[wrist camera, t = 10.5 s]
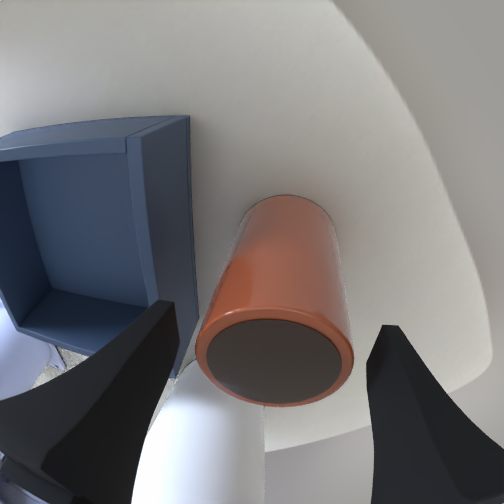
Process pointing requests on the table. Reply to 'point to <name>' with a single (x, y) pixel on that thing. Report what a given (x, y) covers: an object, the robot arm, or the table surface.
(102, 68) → the table surface
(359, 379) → the table surface
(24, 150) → the tote
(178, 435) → the foam cup
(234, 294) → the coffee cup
